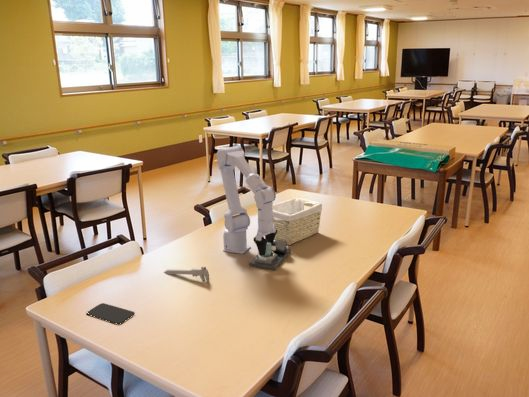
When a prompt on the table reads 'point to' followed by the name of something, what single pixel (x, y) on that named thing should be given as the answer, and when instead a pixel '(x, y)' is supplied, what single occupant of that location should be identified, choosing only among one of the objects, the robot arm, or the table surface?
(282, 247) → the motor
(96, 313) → the phone
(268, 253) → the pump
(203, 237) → the table surface
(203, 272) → the caliper
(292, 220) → the storage basket
